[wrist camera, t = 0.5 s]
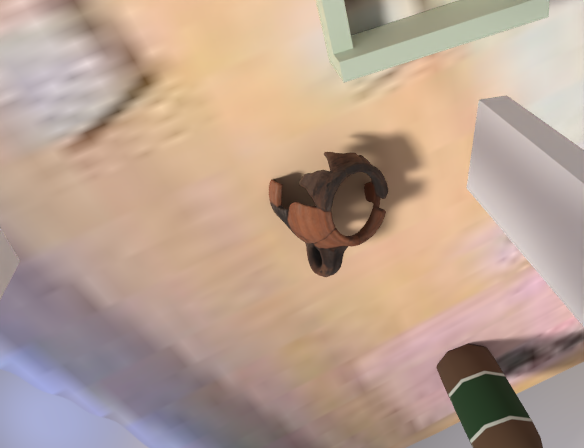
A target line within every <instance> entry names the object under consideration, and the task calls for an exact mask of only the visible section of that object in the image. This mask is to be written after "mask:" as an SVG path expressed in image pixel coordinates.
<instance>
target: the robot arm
mask: <svg viewBox="0 0 584 448" xmlns="http://www.w3.org/2000/svg"><path fill="white" fill-rule="evenodd" d="M467 189H468V190H469V192H470V193H471V194H472V195H473V196H474V198H475V199H476V200H477V201H478V202H479V203H480V205H481V206H482V207H483V208H484V209H485V211H486V212H487V213H488V214H489V215H490V216H491V218H492V219H493V220H494V221H495V222H496V224H497V225H498V226H499V227H500V228H501V230H502V231H503V232H504V233H505V234H506V235H507V237H508V238H509V239H510V240H511V241H512V243H513V244H514V245H515V246H516V247H517V248H518V250H519V251H520V252H521V253H522V254H523V256H524V257H525V258H526V259H527V260H528V262H529V263H530V264H531V265H532V266H533V267H534V269H535V270H536V271H537V272H538V273H539V275H540V276H541V277H542V278H543V279H544V280H545V282H546V283H547V284H548V285H549V286H550V288H551V289H552V290H553V291H554V292H555V294H556V295H557V296H558V297H559V298H560V299H561V301H562V302H563V303H564V304H565V305H566V307H567V308H568V309H569V310H570V311H571V312H572V314H573V315H574V316H575V317H576V318H577V320H578V321H579V322H580V323H581V324H582V326H583V327H584V150H583V149H581V148H580V147H579V146H577V145H576V144H574V143H573V142H572V141H570V140H569V139H567V138H566V137H565V136H563V135H562V134H560V133H559V132H557V131H556V130H555V129H553V128H552V127H550V126H549V125H548V124H546V123H545V122H543V121H542V120H541V119H539V118H538V117H536V116H535V115H534V114H532V113H531V112H529V111H528V110H526V109H525V108H524V107H522V106H521V105H519V104H518V103H517V102H515V101H514V100H512V99H511V98H510V97H508V96H501V97H494V98H488V99H481V100H479V103H478V110H477V117H476V124H475V132H474V139H473V146H472V153H471V160H470V167H469V175H468V182H467ZM19 262H20V260H19V258H18V257H17V255H16V253H15V251H14V250H13V248H12V246H11V245H10V243H9V241H8V239H7V238H6V236H5V234H4V233H3V231H2V229H1V227H0V299H1V297H2V295H3V293H4V291H5V289H6V287H7V285H8V284H9V282H10V280H11V278H12V276H13V274H14V272H15V270H16V268H17V266H18V264H19Z"/></svg>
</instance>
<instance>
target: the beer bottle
mask: <svg viewBox="0 0 584 448" xmlns="http://www.w3.org/2000/svg"><path fill="white" fill-rule="evenodd" d="M437 370H438V372H439V375H440V377H441V380H442V382H443V384H444V387H445V389H446V391H447V394H448V396H449V398H450V400H451V402H452V404H453V406H454V409H455V411H456V413H457V415H458V417H459V419H460V421H461V423H462V426H463V427H464V430H465V432H466V434H467V436H468V438H469V441H470V443H471V445H472V447H473V448H543V447H542V442H541V438H540V436H539V434H538V432H537V430H536V428H535V426H534V424H533V422H532V420H531V418H530V417H529V415H528V413H527V412H526V410H525V408H524V407H523V405H522V403H521V402H520V400H519V398H518V397H517V395H516V393H515V392H514V390H513V389H512V387H511V385H510V384H509V382H508V380H507V379H506V377H505V375H504V374H503V372H502V370H501V369H500V367H499V365H498V364H497V362H496V360H495V359H494V357H493V356H492V354H491V353H490V351H489V350H488V349H487V348H486V347H483V346H477V345H471V344H466V345H464V346H461V347H458V348H456V349H453V350H451V351H448V352H447V353H446V354H445V356H444V357H443V358H442V360H441V361H440V362H439V363H438V365H437Z"/></svg>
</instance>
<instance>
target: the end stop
mask: <svg viewBox="0 0 584 448" xmlns="http://www.w3.org/2000/svg"><path fill="white" fill-rule="evenodd" d="M316 3H317V7H318V12H319V16H320V21H321V25H322V29H323V34H324V38H325V43H326V47H327V52H328V56H329V60H330V63H331V65H332V66H333V68H334V69H335V70H336V72H337V73H338V75H339V76H340V78H341V79H342V81H343V82H347V81H350V80H353V79H356V78H359V77H363V76H366V75H369V74H372V73H375V72H378V71H381V70H384V69H388V68H391V67H394V66H397V65H400V64H403V63H406V62H409V61H413V60H416V59H419V58H422V57H425V56H428V55H431V54H434V53H437V52H441V51H444V50H447V49H450V48H453V47H456V46H459V45H462V44H466V43H469V42H472V41H475V40H478V39H481V38H484V37H487V36H490V35H494V34H497V33H500V32H503V31H506V30H509V29H512V28H515V27H519V26H522V25H525V24H528V23H531V22H534V21H537V20H540V19H543V18H547V17H548V15H549V0H459V1H456V2H453V3H450V4H447V5H444V6H441V7H438V8H434V9H431V10H428V11H425V12H422V13H419V14H416V15H413V16H410V17H407V18H404V19H401V20H398V21H394V22H391V23H388V24H385V25H382V26H379V27H376V28H373V29H370V30H367V31H364V32H361V33H358V34H355V35H351V34H350V29H349V24H348V19H347V13H346V8H345V3H344V0H316Z"/></svg>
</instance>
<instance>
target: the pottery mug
mask: <svg viewBox="0 0 584 448" xmlns="http://www.w3.org/2000/svg"><path fill="white" fill-rule="evenodd" d="M324 155H325V156H326V157H327V160H328V163H329V167H330V172H329V171H325V170H321V171H316V172H314V173H307V174H305V175H304V176H303V177H302V178H301V180H300V182H299V185H300V186H302V187H304V188H306V189H307V192H308V193H309V195H310V196H311V197H312V199H313V201H314V203H315V204H316V206H308V205H304V204H302V203H299V202H295V203H292V204H290V207H289V209H286V208H284V207H283V206H282V200H281V198H282V188H283V186H282V184H280V183H277V182H276V181H275V180H271V181H270V186H269V198H270V203H271V206H272V208H273V210H274V212H275V213H276V215H277V216H278V217H279V218H280V219H281V220H282V221H283V222H284V223H285V224H286V225H287V226H288V227H289V228H290V229H291V231H292V232H293V233H294V234H295V235H296V236H297V237H298V238H300V239H301V240H302V241H304V242H305V243H306V247H307V256H308V261H309V264H310V266H311V268H312V270H313V271H314V272H315V273H316V274H318V275H320V276H323V277H328V276H330V275H334V274H335V273H336V272H337V271H338V270H339V269H340V267H341V264H342V258H343V254H344V251H345V250H346V248H347V247H348V246H356V245H360V244H362V243H363V242H365V241H367V240H368V239H369V238H370V237H372V236H373V235H374V234H375V233H376V231H377V229H378V228H379V227H380V225H381V224H382V221H383V219H384V217H385V214H386V211H385V210H383V209H381V208H379V205H380V198H382V199H385V198H386V196H387V194H388V187H387V183H386V181H385V178H384V176H383V174H382V173H381V172H380V170H378V169H377V168H376V167H374V166H372V165H371V164H370V162H369V161H368V160H367V159H366V158H364V157H363V156H362V155H357V154H356V153H345V154H342V153H334V152H325V153H324ZM357 172H364V173H366V174H367V175H369V176H370V178H371V182H369V183H366V184H365V186H364V189H365V197H366V200H367V201H369V202H373V204H374V205H373V209H372V212H371V215H370V217H369V219H368V221H367V222H366V224H365V225H364V227H363V228H362V229H361V230H360V231H359V232H358V233H356V234H355V235H352V236H344V235H342V234H340V233H339V232H338V230H337V229H336V228H335V225H334V223H333V219H332V212H331V208H332V203H333V198H334V195H335V193H336V191H337V189H338V187H339V186H340V184H341V183H342V182H343V181H344V180H345V178H346V177H348V176H350V175H351V174H354V173H357Z"/></svg>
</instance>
